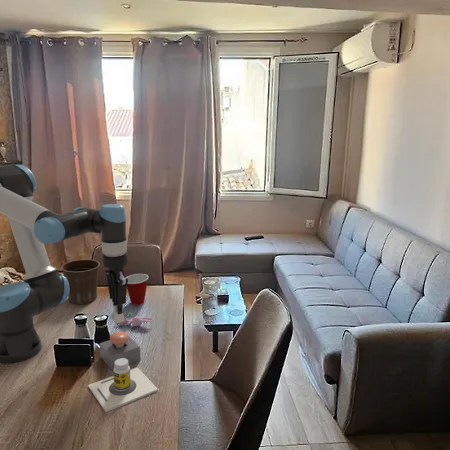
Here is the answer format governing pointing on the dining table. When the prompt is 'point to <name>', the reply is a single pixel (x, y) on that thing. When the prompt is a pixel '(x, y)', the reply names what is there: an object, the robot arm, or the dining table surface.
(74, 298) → the plant pot
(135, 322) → the pink unicorn toy
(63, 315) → the dining table surface
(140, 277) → the plastic cup
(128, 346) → the button housing
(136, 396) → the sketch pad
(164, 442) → the dining table surface
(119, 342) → the button
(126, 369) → the supplement bottle
